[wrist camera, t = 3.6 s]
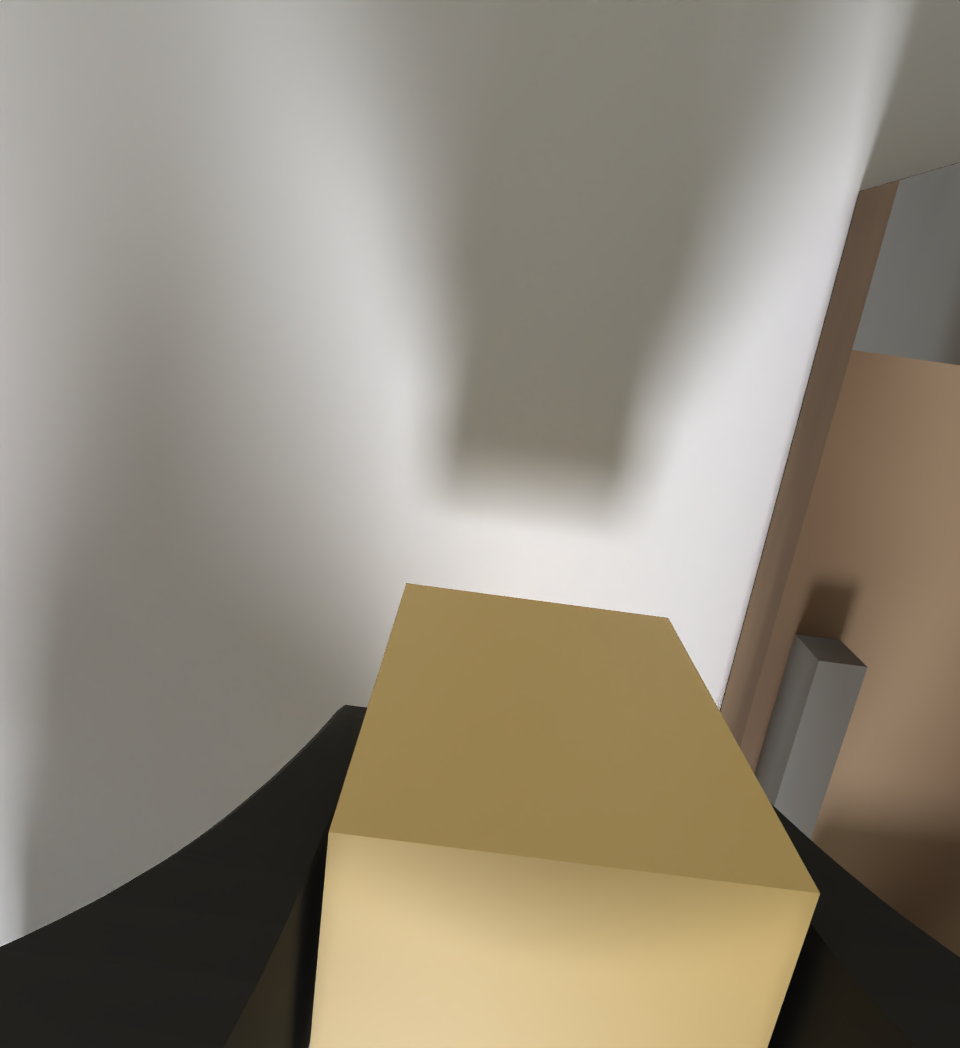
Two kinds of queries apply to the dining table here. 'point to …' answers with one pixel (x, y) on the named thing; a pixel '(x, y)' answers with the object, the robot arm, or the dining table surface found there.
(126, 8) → the dining table surface
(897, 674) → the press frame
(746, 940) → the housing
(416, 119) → the dining table surface
